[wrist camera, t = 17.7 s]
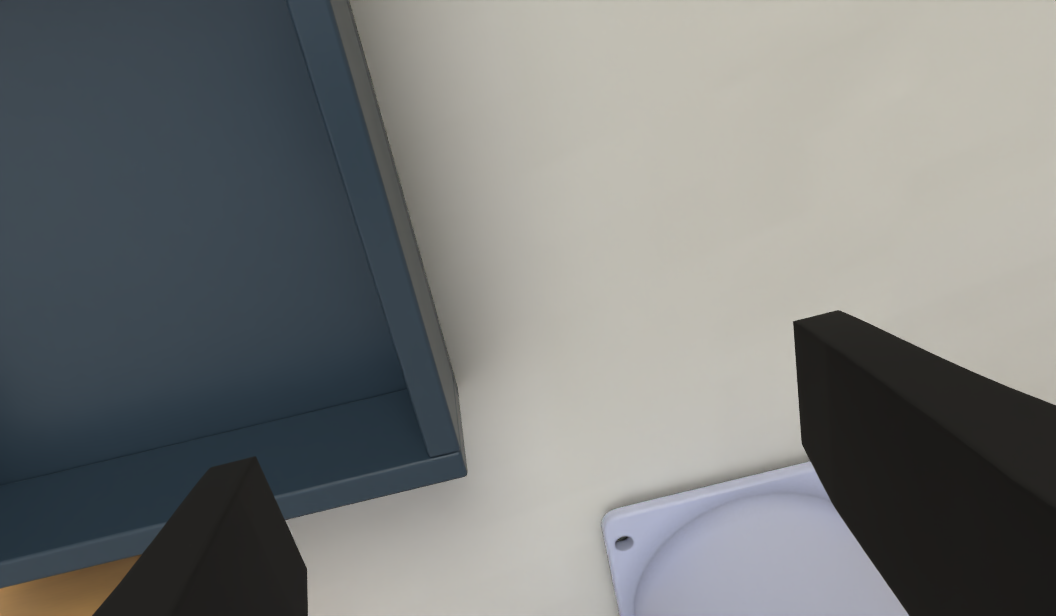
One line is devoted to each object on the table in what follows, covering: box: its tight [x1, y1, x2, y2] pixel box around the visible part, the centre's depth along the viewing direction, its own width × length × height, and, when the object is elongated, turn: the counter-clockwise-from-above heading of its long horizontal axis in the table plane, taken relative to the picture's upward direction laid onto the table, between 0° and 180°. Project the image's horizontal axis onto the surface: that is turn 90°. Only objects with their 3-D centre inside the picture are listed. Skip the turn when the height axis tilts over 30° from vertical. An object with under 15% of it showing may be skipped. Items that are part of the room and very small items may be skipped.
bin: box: [0, 0, 467, 589], centre depth 17 cm, size 14×12×4 cm
